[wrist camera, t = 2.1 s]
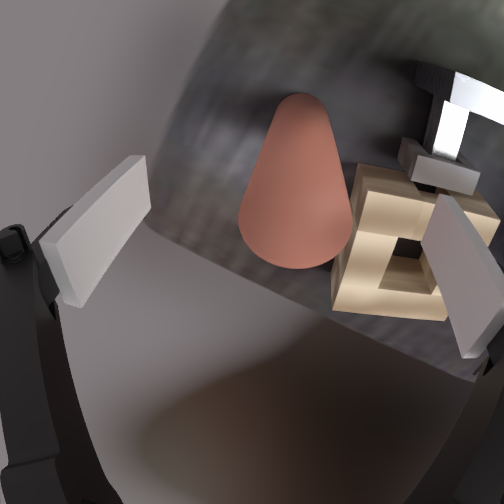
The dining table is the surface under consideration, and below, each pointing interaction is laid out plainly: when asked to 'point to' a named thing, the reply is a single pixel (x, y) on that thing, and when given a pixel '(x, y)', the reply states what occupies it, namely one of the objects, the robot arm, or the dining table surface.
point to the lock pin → (454, 107)
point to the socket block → (401, 234)
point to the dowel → (297, 190)
